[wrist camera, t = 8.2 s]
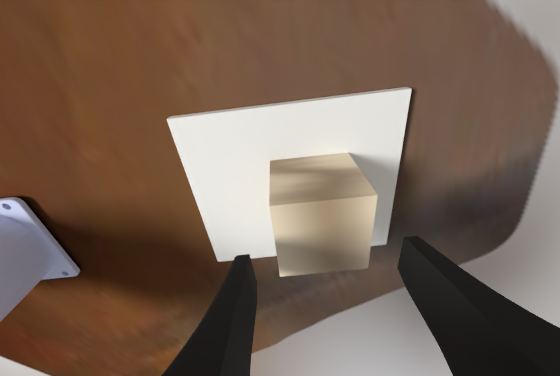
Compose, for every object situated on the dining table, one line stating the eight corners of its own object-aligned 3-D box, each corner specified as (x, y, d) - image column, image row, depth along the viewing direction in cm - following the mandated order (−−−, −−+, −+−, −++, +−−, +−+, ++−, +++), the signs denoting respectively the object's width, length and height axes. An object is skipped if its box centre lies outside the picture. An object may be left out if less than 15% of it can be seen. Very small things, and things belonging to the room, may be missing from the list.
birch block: (278, 221, 18) (280, 276, 14) (269, 160, 15) (269, 206, 11) (344, 214, 18) (367, 268, 14) (347, 152, 15) (377, 195, 11)
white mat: (219, 256, 21) (218, 261, 20) (170, 116, 14) (166, 119, 14) (383, 239, 20) (386, 244, 20) (406, 87, 14) (411, 88, 13)
